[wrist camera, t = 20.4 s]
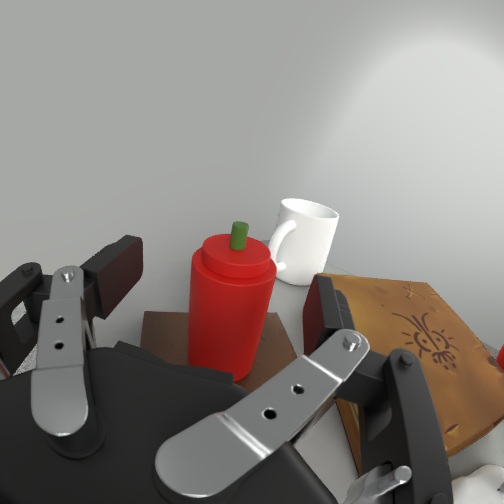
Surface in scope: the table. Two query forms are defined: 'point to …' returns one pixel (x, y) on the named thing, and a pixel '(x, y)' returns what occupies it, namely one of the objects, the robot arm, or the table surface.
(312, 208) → the mug
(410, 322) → the diary
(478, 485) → the figurine
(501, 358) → the tomato
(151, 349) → the board
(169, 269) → the table surface
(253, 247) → the pepper
